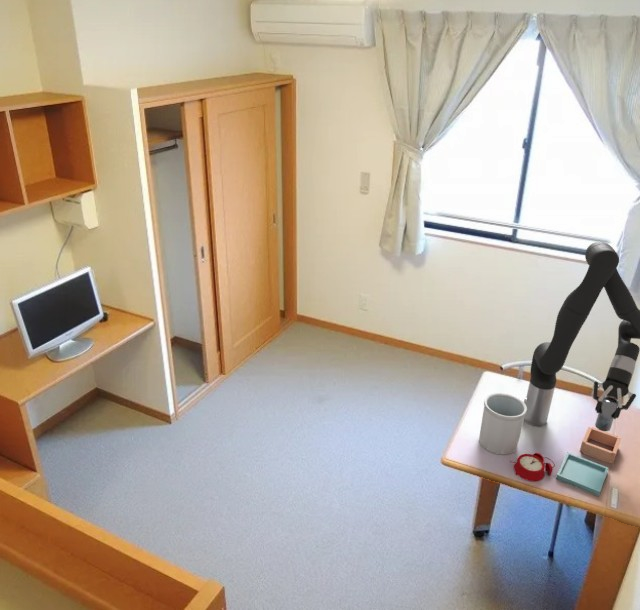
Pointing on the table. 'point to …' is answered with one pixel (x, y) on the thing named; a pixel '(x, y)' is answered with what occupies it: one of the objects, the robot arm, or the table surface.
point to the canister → (606, 414)
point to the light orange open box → (596, 450)
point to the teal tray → (582, 473)
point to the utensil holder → (502, 423)
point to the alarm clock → (532, 467)
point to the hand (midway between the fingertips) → (606, 415)
